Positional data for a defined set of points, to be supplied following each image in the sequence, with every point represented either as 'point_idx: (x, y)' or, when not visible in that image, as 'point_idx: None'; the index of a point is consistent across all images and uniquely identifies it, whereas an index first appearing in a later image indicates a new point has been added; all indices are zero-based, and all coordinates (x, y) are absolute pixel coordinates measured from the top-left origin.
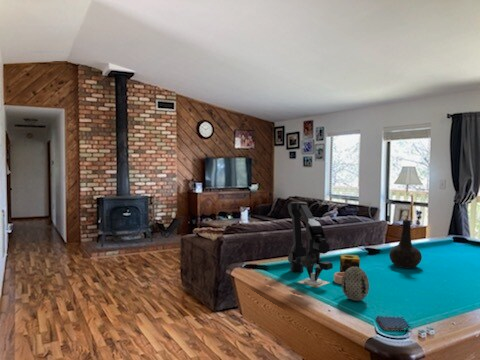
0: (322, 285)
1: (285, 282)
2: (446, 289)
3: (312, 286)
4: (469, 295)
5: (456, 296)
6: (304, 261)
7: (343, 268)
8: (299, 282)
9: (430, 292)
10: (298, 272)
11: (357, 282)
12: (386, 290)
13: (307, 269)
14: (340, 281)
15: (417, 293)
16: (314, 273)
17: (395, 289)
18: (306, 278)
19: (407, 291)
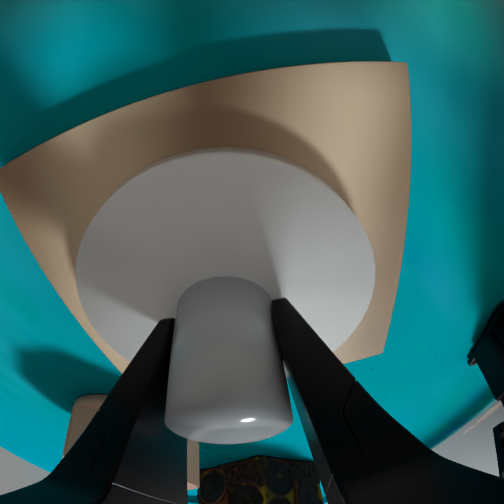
0: (58, 293)
1: (491, 4)
2: (46, 465)
3: (45, 142)
4: (13, 453)
5: (3, 444)
6: None
7: (256, 496)
8: (356, 74)
9: (21, 448)
10: (500, 327)
11: None
12: (21, 428)
13: (386, 455)
14: (80, 422)
15: (8, 436)
16: (213, 430)
17: (35, 441)
18: (364, 279)
19: (20, 439)
